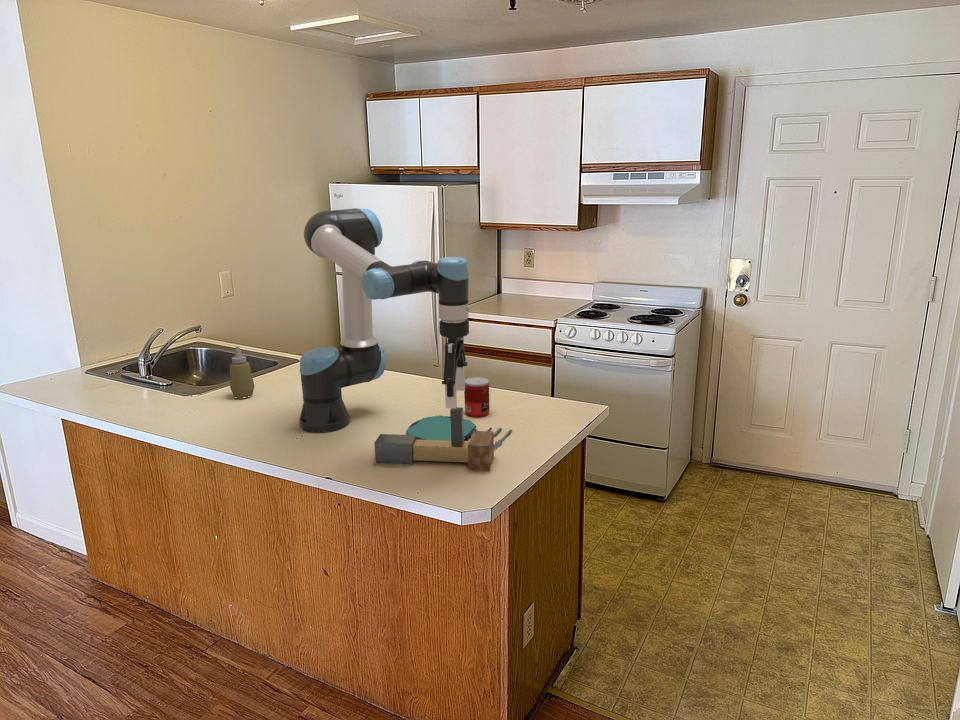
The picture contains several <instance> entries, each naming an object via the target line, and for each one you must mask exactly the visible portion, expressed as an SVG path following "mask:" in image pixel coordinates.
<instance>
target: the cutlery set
mask: <svg viewBox="0 0 960 720" xmlns="http://www.w3.org/2000/svg"><path fill="white" fill-rule="evenodd" d="M463 425H464V440H465V439H467V438H469V437H471V436H472V433H473V431H476V430H475V429H476V428H477V425H476V424H475V423H474V422H473V421H471V419H465V418H463ZM492 429H493V428H492V427H491V426H490V427H489V428H488V429H487V430H486V431H491V430H492ZM502 429H503V428H502V427H498V428H497V429H496V430H495V432H494V437H496V436H497V434H499V433H500V432H501V431H502ZM511 432H512V433H513V429H509V430H508V431H507V432H506V433H505V435H504V436H503V437H502V438H501V439H498V441H496V440H495V442H494V452H495V451H496V450H497V449H498V447H499V448H500V447H501V446H502V445H503V442H504V441H505V440H506V439H507V438H508V437H509V436H510V435H511V434H512V433H511ZM510 433H511V434H510ZM405 435H416V440H445V441H451V419H450V416H447V415H442V414H440V415H432V416H425V417H422V418H421V419H418V420H416V421H415V422H412V423H411V424H410V425H409V427H408V428H406V431H405Z"/></svg>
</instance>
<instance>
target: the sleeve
mask: <svg viewBox="0 0 960 720" xmlns="http://www.w3.org/2000/svg"><path fill="white" fill-rule="evenodd" d="M414 440H416V435H406V434H397V433H396V434H391V433H380V434H379V435H378V437H377V438H376V440H375V441H374V455H375V456H374V457H375V464H382V463H383V464H387V465H410V466H412V465H413V464H414V462H415V460H412V444H413V442H414Z"/></svg>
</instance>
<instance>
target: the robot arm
mask: <svg viewBox="0 0 960 720" xmlns="http://www.w3.org/2000/svg"><path fill="white" fill-rule="evenodd" d="M303 229H304V230H303V239H304V240H303V241H304V243H305V244H306V246H307V247H308V249H309V251H311V252H312V253H313V254H314V255H316V256H318V257H319V258H323V259H326V258H327V259H328V260H329V261H331V262H332V263H334V264H335V265H337V266H338V267H340V268H341V279H342V280H341V281H342V282H341V283H342V299H343V300H342V301H343V303H342V304H343V320H344V321H343V322H344V323H343V324H344V325H343V326H344V337H343V338H342V339H341V340H340V341H339V342H340V349H338V347H335V346H324V347H323V346H321V347H320V346H319V347H315V348H313V349H310V350H307V351H306V352H305V353H303V354H302V355H301V357H300V360H299V374H300V380H301V381H300V382H301V389H302V399H303V402H302V406H301V411H300V414H299V422H298V423H299V427H301V428H302V429H303V430H302V429H301V428H300V429H301V430H302V431H305V430H306V431H305V432H308V431H310V433H328V432H335V431H338V430H341V429H344V428H345V427H347V426H349V424H350V414H349V412H348V410H347V409H348V408H347V406H346V404H345V402H344V399H343V394H342V388H343V389H344V388H346V387H350V386H355V385H359V384H364V383H370V382H372V381H375V380H377V379H380V378H381V376H383V374H384V372H385V370H386V367H387V356H386V353H385V349H384V347H383V346H382V344H380V343H379V340H378V339H377V338H376V337H375V336H374V334H373V333H374V330H373V327H374V326H373V305H372V304H373V303H372V302H373V300H387V299H390V298H396V297H401V296H407V295H414V294H415V295H416V294H422V293H427V292H429V293H434V294H437V295H438V319H439V321H438V322H439V324H438V326H439V328H438V329H439V330H438V331H439V335H440V336H441V337H443V338H447V342H446V343H445V344H444V367H443V368H444V369H443V380H442V381H441V384H442V385H444V389H445V390H444V391H445V392H444V393H445V394H444V395H445V396H444V397H445V399H444V400H445V409H451V408H455V409H456V408H457V406H458V405H457V404H458V403H457V402H458V400H457V392H458V391H459V392H460V391H463V392H464V391H465V380H466V376H465V375H466V369H465V367H468V362H467V358H466V350H465V342H464V337H466V336H468V335H469V334H470V321H469V320H468V318H469V311H471V310H472V308H471V306H469V277H470V275H469V265H468V261H467V259H466V258H464V257H460V256H458V257H457V256H450V257H449V256H448V257H447V256H446V257H441V258H439V259H438V260H437V262H433V261H429V260H415V261H414V262H412V263H411V264H403V265H394V266H392V265H390V264H387V262H384V261H383V260H382V259H380V258H379V257H377V256H376V248H378V247H379V246H380V245H381V244H382V241H383V228H382V224H381V221H380V219H379V218H378V216H377V215H376V214H375V213H374V211H372V210H371V209H368V208H357V207H356V208H346V209H336V210H335V209H333V210H332V209H331V210H323V211H322V210H321V211H318V212H317V213H315V214H313V215H312V216H311V217H310V218H309V219H308V220H307V222H306V224H305V226H304V228H303Z"/></svg>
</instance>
